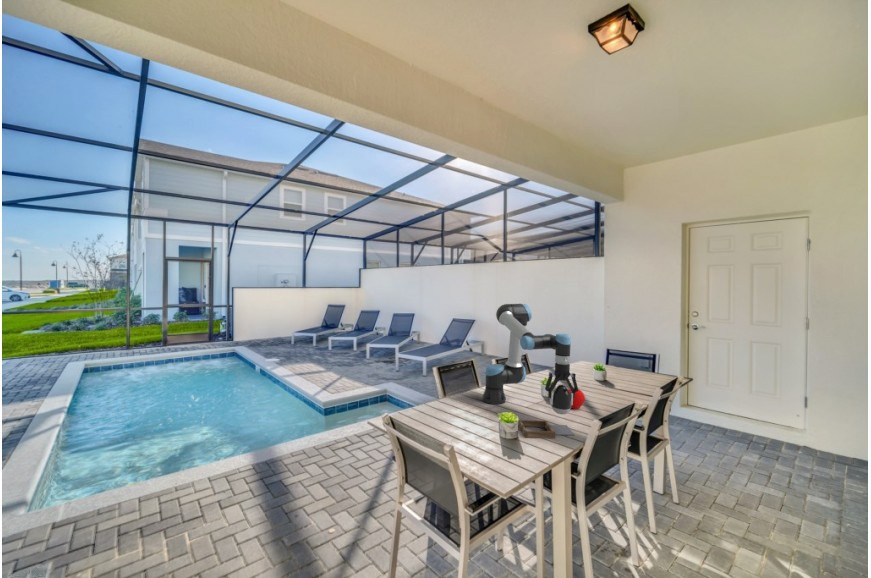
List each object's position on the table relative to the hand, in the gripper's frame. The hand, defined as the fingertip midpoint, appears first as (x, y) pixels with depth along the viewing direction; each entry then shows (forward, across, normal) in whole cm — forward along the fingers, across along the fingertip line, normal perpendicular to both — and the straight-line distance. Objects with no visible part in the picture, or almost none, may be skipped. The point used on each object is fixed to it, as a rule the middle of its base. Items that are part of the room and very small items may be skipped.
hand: (561, 404), depth 202 cm
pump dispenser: (+5, 0, 0) cm, 5 cm away
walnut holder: (+15, -14, -2) cm, 20 cm away
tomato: (+15, +20, +35) cm, 43 cm away
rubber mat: (+15, 0, 0) cm, 15 cm away
